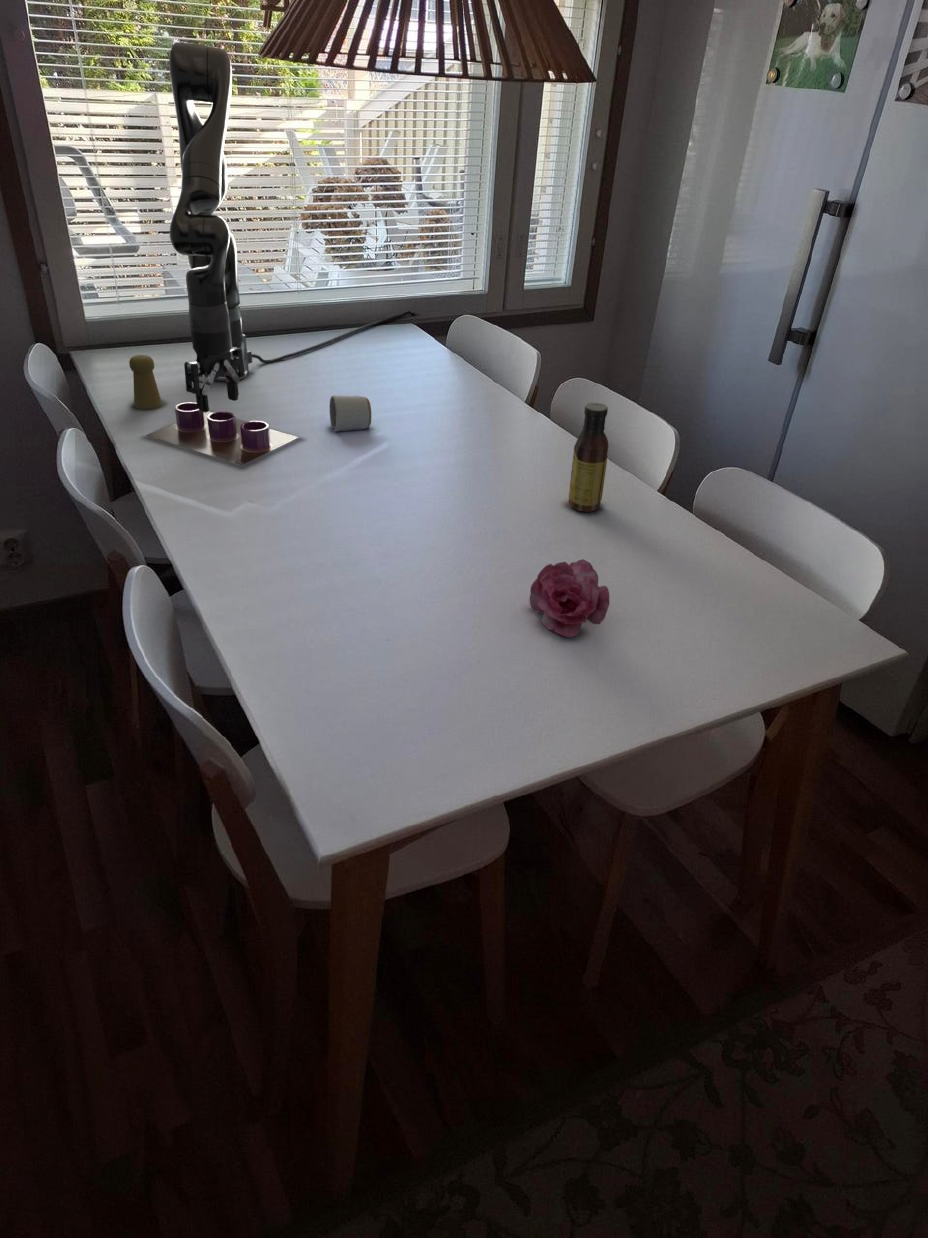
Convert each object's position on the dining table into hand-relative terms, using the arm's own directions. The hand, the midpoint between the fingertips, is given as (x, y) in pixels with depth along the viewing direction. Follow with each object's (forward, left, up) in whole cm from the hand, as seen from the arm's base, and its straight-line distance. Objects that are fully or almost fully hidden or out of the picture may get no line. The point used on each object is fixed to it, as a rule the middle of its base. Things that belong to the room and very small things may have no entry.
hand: (218, 405), depth 176 cm
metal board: (0, 0, -7) cm, 7 cm away
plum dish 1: (0, -9, -7) cm, 11 cm away
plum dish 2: (0, 0, -7) cm, 7 cm away
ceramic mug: (-21, +17, -7) cm, 28 cm away
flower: (+23, +89, -7) cm, 93 cm away
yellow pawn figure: (-5, -27, -7) cm, 28 cm away
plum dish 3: (0, +9, -7) cm, 11 cm away
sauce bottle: (-15, +76, -7) cm, 78 cm away
